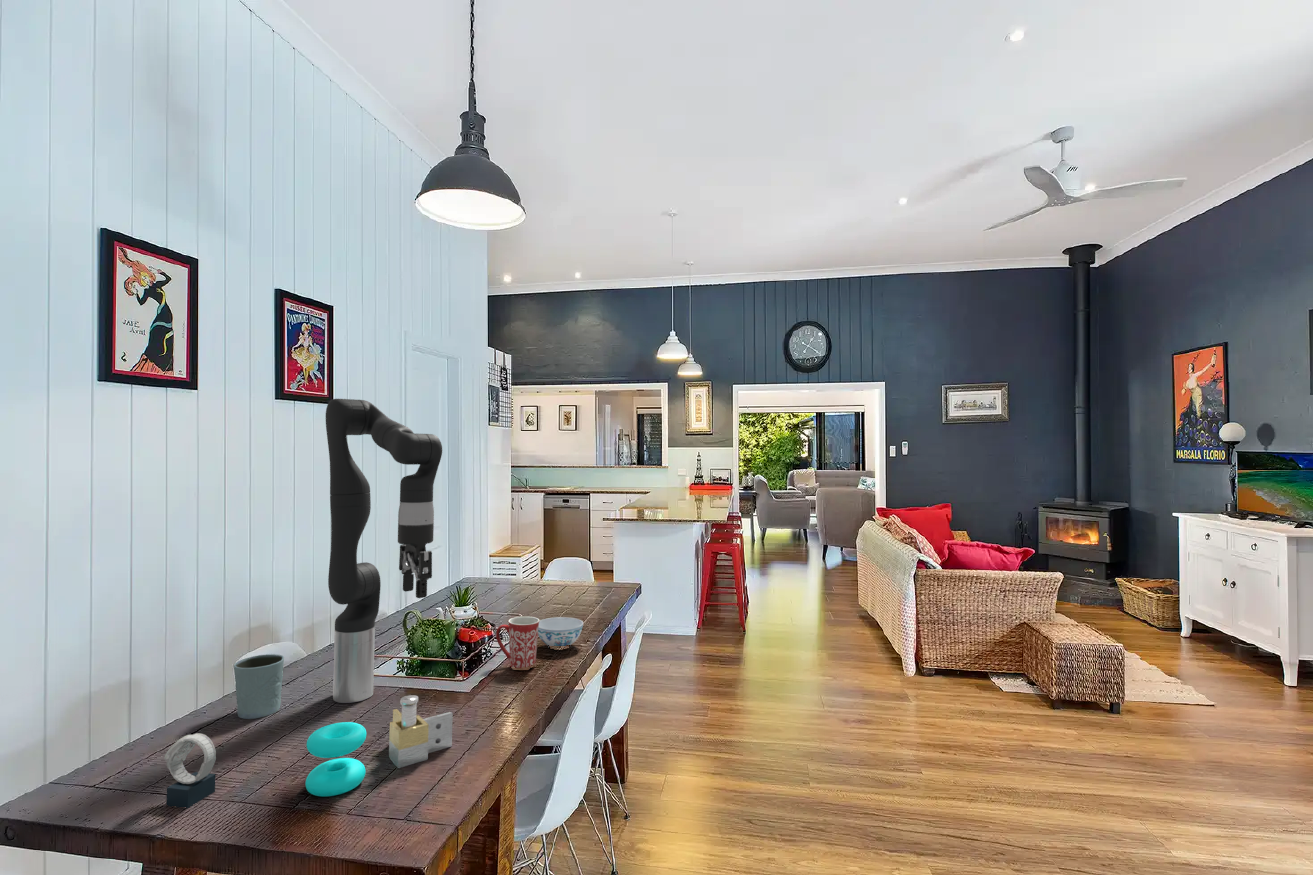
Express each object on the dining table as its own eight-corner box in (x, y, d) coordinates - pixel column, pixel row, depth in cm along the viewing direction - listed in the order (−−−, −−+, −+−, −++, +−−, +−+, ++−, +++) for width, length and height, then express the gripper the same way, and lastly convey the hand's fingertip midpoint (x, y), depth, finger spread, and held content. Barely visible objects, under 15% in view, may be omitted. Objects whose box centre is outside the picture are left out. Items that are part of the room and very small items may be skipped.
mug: (543, 662, 186) (543, 617, 186) (532, 673, 177) (533, 625, 177) (502, 660, 188) (503, 614, 188) (490, 670, 179) (491, 622, 179)
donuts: (367, 716, 124) (366, 737, 114) (366, 767, 123) (364, 793, 114) (309, 724, 120) (303, 747, 110) (308, 777, 119) (302, 804, 110)
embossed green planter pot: (288, 711, 149) (290, 660, 149) (238, 724, 142) (240, 671, 142) (275, 699, 156) (276, 651, 156) (227, 711, 149) (228, 660, 149)
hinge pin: (396, 757, 127) (398, 697, 128) (413, 752, 130) (414, 693, 130) (402, 764, 125) (403, 703, 125) (419, 758, 127) (420, 699, 127)
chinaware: (579, 655, 193) (579, 630, 193) (530, 654, 193) (531, 629, 194) (585, 640, 208) (586, 617, 208) (540, 640, 208) (540, 616, 208)
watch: (185, 788, 115) (187, 727, 115) (223, 792, 114) (225, 731, 114) (156, 804, 109) (158, 741, 110) (195, 809, 108) (197, 745, 108)
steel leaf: (388, 757, 128) (389, 722, 128) (445, 740, 135) (446, 707, 135) (398, 768, 123) (399, 732, 123) (456, 750, 131) (457, 716, 131)
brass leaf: (379, 746, 132) (380, 712, 132) (407, 738, 136) (408, 705, 136) (398, 768, 123) (399, 732, 123) (427, 759, 127) (428, 724, 127)
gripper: (444, 523, 138) (442, 597, 138) (421, 518, 149) (420, 586, 149) (409, 526, 134) (408, 602, 133) (388, 520, 145) (387, 590, 144)
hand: (414, 594), depth 141 cm, fingers open, 8 cm apart
